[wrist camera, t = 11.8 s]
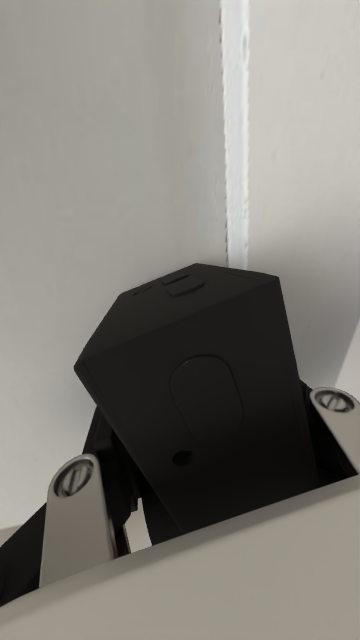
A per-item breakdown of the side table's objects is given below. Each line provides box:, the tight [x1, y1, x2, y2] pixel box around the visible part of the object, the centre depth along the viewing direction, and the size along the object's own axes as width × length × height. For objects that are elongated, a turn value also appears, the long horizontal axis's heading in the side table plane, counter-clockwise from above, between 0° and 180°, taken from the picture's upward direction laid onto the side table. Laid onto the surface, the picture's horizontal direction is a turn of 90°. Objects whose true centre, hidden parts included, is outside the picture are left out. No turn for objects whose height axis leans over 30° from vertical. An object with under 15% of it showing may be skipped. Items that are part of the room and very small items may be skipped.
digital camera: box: [74, 263, 321, 546], centre depth 9 cm, size 10×5×7 cm, turn 21°
